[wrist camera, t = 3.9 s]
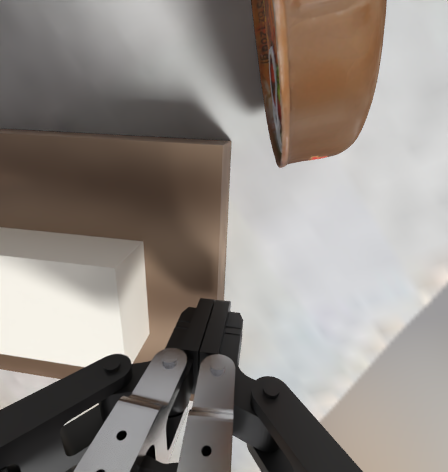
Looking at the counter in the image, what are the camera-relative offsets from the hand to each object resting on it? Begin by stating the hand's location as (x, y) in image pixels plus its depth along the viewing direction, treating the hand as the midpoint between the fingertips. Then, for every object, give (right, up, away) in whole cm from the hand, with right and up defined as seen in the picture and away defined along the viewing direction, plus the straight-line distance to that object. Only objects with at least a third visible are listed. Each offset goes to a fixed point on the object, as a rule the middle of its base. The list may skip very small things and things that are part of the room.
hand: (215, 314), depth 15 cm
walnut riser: (-8, +2, +5) cm, 10 cm away
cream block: (-9, +1, +2) cm, 9 cm away
